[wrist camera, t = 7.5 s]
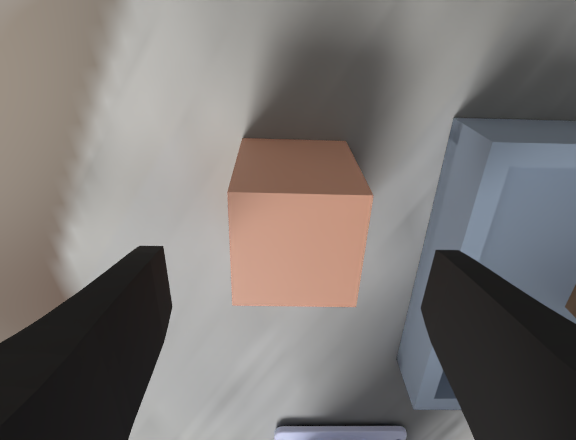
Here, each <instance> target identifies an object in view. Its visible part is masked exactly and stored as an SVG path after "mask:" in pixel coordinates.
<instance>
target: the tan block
mask: <svg viewBox="0 0 576 440" xmlns="http://www.w3.org/2000/svg"><path fill="white" fill-rule="evenodd" d="M565 308H566V309H567V310H568V311H569V312H570V313H571V314H572V315H573V316H574V317H575V318H576V285H575V287H574V289H573V291H572V293H571V295H570V297H569V299H568V301H567V303H566V305H565Z"/></svg>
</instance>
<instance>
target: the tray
mask: <svg viewBox="0 0 576 440" xmlns="http://www.w3.org/2000/svg"><path fill="white" fill-rule="evenodd" d="M435 250H459V251H461V252H463V253H465V254H466V255H468V256H470V257H471V258H473V259H475V260H476V261H478V262H479V263H481V264H482V265H484V266H485V267H487V268H488V269H490V270H491V271H493V272H494V273H496V274H497V275H499V276H500V277H502V278H503V279H505V280H506V281H508V282H509V283H511V284H512V285H514V286H516V287H517V288H519V289H520V290H522V291H523V292H525V293H526V294H528V295H529V296H531V297H532V298H534V299H536V300H537V301H539V302H540V303H542V304H544V305H545V306H547V307H548V308H550V309H552V310H553V311H555V312H557V313H558V314H560V315H562V316H563V317H565V318H567V319H569V320H570V321H572V322H574V323H575V324H576V318H575V317H574V316H573V315H572V314H571V313H570V312H569V311H568V310H567V309H566V308H565V305H566V303H567V301H568V299H569V297H570V295H571V293H572V291H573V289H574V287H575V285H576V121H561V120H522V119H483V118H454V119H453V123H452V127H451V132H450V136H449V140H448V144H447V149H446V153H445V157H444V161H443V165H442V170H441V174H440V178H439V182H438V186H437V191H436V195H435V199H434V203H433V207H432V212H431V216H430V220H429V224H428V228H427V233H426V237H425V241H424V245H423V250H422V254H421V258H420V262H419V266H418V271H417V275H416V279H415V283H414V287H413V292H412V296H411V300H410V304H409V308H408V313H407V317H406V321H405V325H404V330H403V334H402V338H401V342H400V346H399V351H398V355H397V362H398V365H399V368H400V371H401V374H402V377H403V380H404V383H405V386H406V389H407V392H408V395H409V398H410V401H411V404H412V407H413V410H462V409H461V407H460V405H459V403H458V401H457V399H456V397H455V394H454V392H453V390H452V388H451V386H450V384H449V381H448V379H447V377H446V375H445V373H444V371H443V369H442V366H441V364H440V362H439V360H438V358H437V355H436V353H435V351H434V349H433V346H432V344H431V342H430V339H429V336H428V332H427V329H426V326H425V323H424V319H423V316H422V312H421V309H420V308H421V304H422V300H423V296H424V293H425V289H426V285H427V281H428V277H429V273H430V270H431V266H432V262H433V258H434V254H435Z"/></svg>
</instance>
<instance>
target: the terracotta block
mask: <svg viewBox="0 0 576 440" xmlns="http://www.w3.org/2000/svg"><path fill="white" fill-rule="evenodd" d="M227 193H228V216H229V238H230V261H231V284H232V305H234V306H316V307H356V304H357V298H358V291H359V285H360V278H361V272H362V266H363V259H364V253H365V246H366V240H367V234H368V227H369V221H370V214H371V208H372V202H373V194H372V192H371V190H370V188H369V186H368V184H367V182H366V180H365V178H364V176H363V174H362V172H361V170H360V168H359V166H358V164H357V162H356V160H355V158H354V156H353V154H352V152H351V150H350V148H349V146H348V144H347V142H346V141H329V140H293V139H257V138H242V141H241V145H240V148H239V152H238V156H237V159H236V163H235V167H234V170H233V174H232V177H231V181H230V185H229V188H228V192H227Z"/></svg>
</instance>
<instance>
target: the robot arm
mask: <svg viewBox="0 0 576 440" xmlns="http://www.w3.org/2000/svg"><path fill="white" fill-rule="evenodd" d="M420 309H421V312H422V316H423V319H424V323H425V326H426V329H427V332H428V336H429V339H430V342H431V344H432V346H433V349H434V351H435V353H436V355H437V358H438V360H439V362H440V364H441V366H442V369H443V371H444V373H445V375H446V377H447V379H448V381H449V384H450V386H451V388H452V390H453V392H454V394H455V397H456V399H457V401H458V403H459V405H460V407H461V409H462V412H463V414H464V416H465V418H466V420H467V422H468V425H469V427H470V430H471V432H472V434H473V437H474V439H475V440H576V324H575V323H574V322H572V321H570V320H569V319H567V318H565V317H563V316H562V315H560V314H558V313H557V312H555V311H553V310H552V309H550V308H548V307H547V306H545V305H544V304H542V303H540V302H539V301H537V300H536V299H534V298H532V297H531V296H529V295H528V294H526V293H525V292H523V291H522V290H520V289H519V288H517V287H516V286H514V285H512V284H511V283H509V282H508V281H506V280H505V279H503V278H502V277H500V276H499V275H497V274H496V273H494V272H493V271H491V270H490V269H488V268H487V267H485V266H484V265H482V264H481V263H479V262H478V261H476V260H475V259H473V258H471V257H470V256H468V255H466V254H465V253H463V252H461V251H459V250H435V254H434V258H433V262H432V266H431V270H430V273H429V277H428V281H427V285H426V289H425V293H424V296H423V300H422V304H421V308H420ZM171 310H172V301H171V295H170V288H169V281H168V275H167V268H166V261H165V255H164V248H163V246H139V247H137V248H136V249H134V250H133V251H132V252H130V253H129V254H128V255H126V256H125V257H124V258H122V259H121V260H120V261H119V262H117V263H116V264H115V265H113V266H112V267H111V268H110V269H108V270H107V271H106V272H104V273H103V274H102V275H100V276H99V277H98V278H96V279H95V280H94V281H93V282H91V283H90V284H89V285H87V286H86V287H85V288H83V289H82V290H81V291H79V292H78V293H76V294H75V295H74V296H72V297H71V298H69V299H68V300H66V301H65V302H63V303H62V304H61V305H59V306H58V307H56V308H55V309H53V310H52V311H51V312H49V313H48V314H46V315H45V316H43V317H42V318H40V319H39V320H37V321H36V322H34V323H33V324H31V325H29V326H28V327H26V328H25V329H23V330H21V331H20V332H18V333H17V334H15V335H13V336H12V337H10V338H8V339H6V340H5V341H3V342H1V343H0V440H128V438H129V435H130V432H131V429H132V426H133V423H134V420H135V418H136V415H137V412H138V410H139V407H140V405H141V402H142V399H143V397H144V394H145V391H146V389H147V386H148V383H149V381H150V378H151V376H152V373H153V370H154V368H155V365H156V362H157V360H158V357H159V354H160V351H161V349H162V346H163V343H164V340H165V336H166V332H167V328H168V324H169V319H170V315H171ZM406 437H407V433H406V429H405V428H404V427H402V426H281V427H278V428H277V429H275V437H274V440H406Z"/></svg>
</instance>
